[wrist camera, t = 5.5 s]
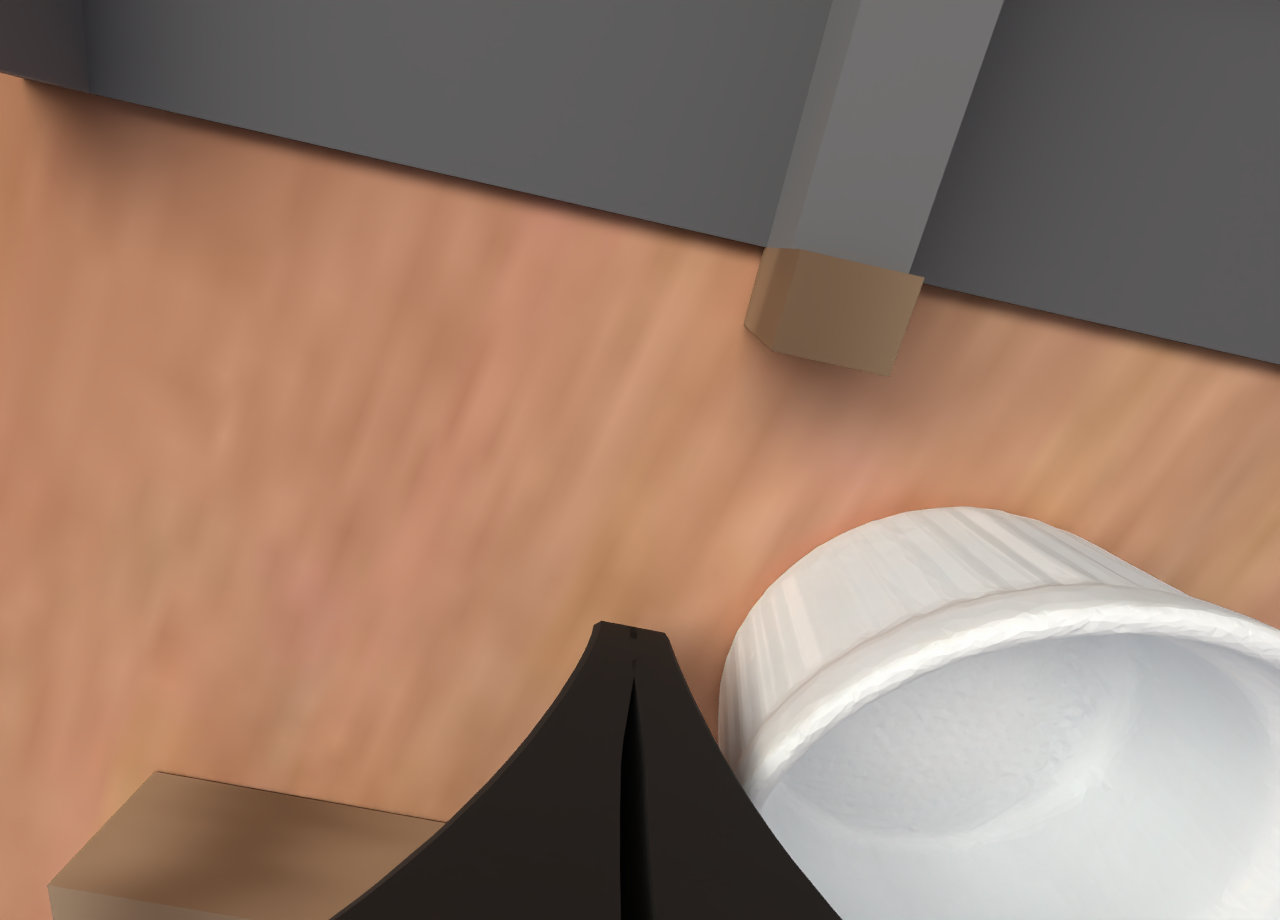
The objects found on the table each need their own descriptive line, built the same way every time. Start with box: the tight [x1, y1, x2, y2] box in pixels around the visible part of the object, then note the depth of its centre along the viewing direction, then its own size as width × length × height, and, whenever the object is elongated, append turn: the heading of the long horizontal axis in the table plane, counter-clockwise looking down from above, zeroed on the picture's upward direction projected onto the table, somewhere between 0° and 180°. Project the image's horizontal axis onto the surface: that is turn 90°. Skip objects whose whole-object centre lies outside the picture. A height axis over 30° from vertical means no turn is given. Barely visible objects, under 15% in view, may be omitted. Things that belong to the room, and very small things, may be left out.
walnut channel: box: [47, 247, 925, 920], centre depth 10 cm, size 34×14×4 cm, turn 78°
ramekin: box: [718, 506, 1280, 920], centre depth 10 cm, size 9×9×4 cm
